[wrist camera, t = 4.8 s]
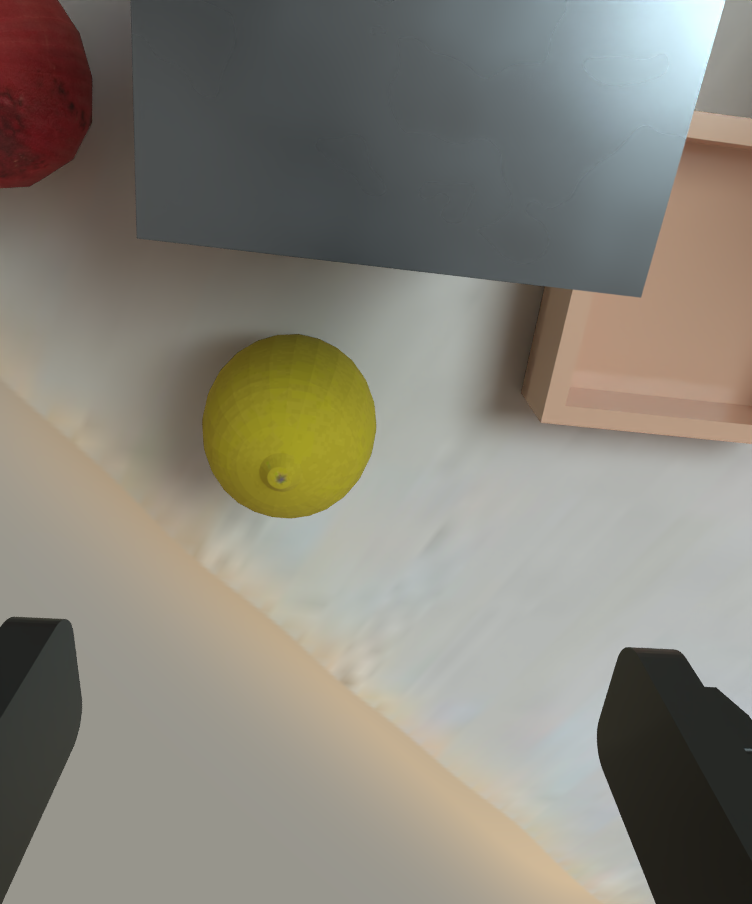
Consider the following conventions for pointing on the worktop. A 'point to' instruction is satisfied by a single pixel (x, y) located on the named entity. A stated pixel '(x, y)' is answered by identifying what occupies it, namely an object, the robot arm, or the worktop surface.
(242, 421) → the lemon
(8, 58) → the onion
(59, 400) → the worktop surface
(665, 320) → the dish
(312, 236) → the block
